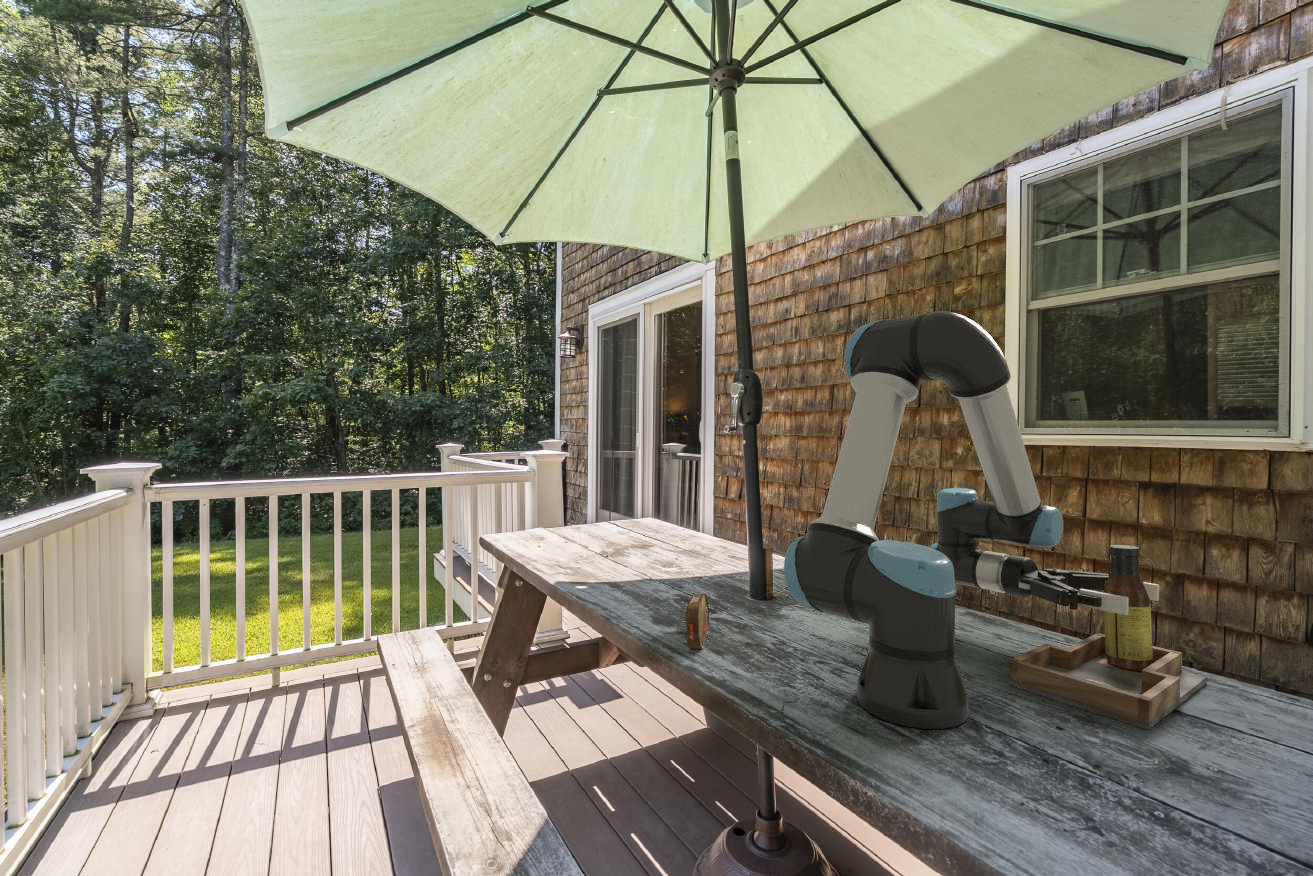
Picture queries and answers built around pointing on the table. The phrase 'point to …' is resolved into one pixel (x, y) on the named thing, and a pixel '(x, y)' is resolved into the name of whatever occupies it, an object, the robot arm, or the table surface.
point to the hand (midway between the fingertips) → (1143, 599)
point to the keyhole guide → (1106, 681)
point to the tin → (697, 620)
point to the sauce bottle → (1133, 631)
